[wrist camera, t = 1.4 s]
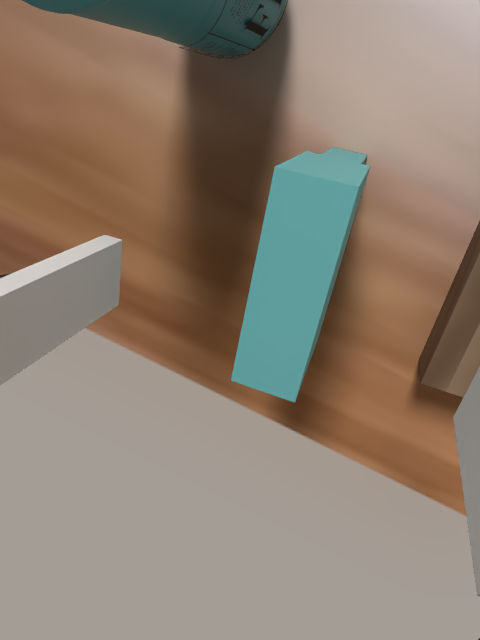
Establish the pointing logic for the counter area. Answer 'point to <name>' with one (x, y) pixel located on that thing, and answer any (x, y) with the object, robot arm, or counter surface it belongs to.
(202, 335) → the counter surface
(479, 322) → the rail
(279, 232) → the notched teal block
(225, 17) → the beverage bottle
